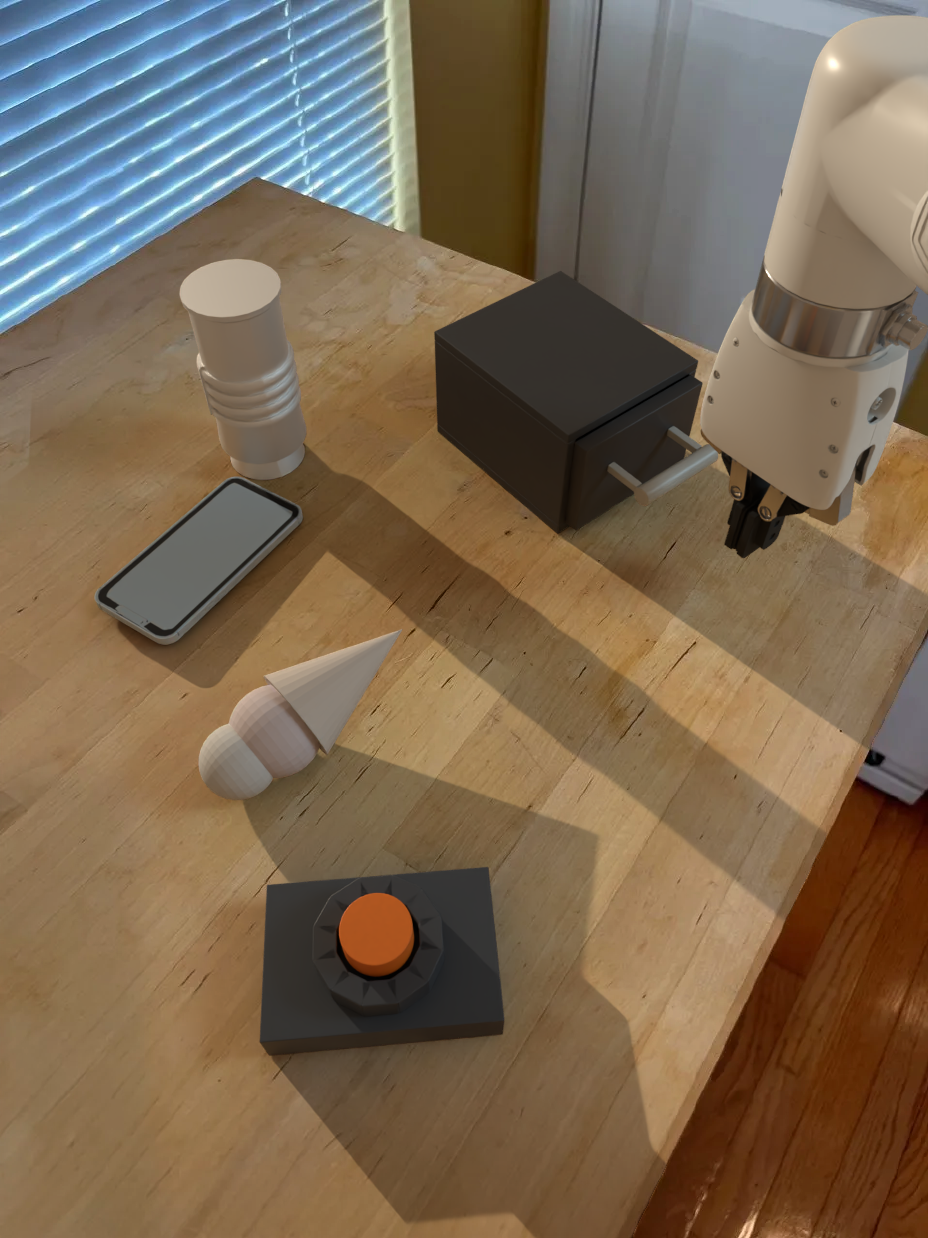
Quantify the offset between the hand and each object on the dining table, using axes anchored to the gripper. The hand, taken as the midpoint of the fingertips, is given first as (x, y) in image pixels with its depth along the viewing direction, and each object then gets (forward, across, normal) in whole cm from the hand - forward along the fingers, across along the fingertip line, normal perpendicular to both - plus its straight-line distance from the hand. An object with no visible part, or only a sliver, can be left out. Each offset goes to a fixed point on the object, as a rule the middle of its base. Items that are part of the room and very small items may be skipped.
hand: (748, 542), depth 63 cm
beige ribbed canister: (+4, +33, +18) cm, 38 cm away
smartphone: (+4, +26, +28) cm, 38 cm away
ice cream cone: (+5, +9, +30) cm, 31 cm away
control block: (+5, -6, +35) cm, 36 cm away
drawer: (+4, +15, 0) cm, 15 cm away
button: (+1, -6, +35) cm, 35 cm away
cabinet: (+4, +19, 0) cm, 19 cm away
